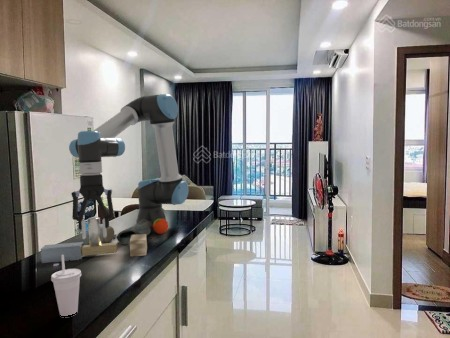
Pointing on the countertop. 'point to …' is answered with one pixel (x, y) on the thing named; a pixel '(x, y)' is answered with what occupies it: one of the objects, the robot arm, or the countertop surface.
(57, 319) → the countertop surface
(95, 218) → the bar with upright post
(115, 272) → the countertop surface
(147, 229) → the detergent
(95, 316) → the countertop surface
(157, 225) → the clementine
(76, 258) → the sleeve
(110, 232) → the ceramic mug
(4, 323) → the countertop surface
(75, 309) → the smoothie
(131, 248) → the socket block
